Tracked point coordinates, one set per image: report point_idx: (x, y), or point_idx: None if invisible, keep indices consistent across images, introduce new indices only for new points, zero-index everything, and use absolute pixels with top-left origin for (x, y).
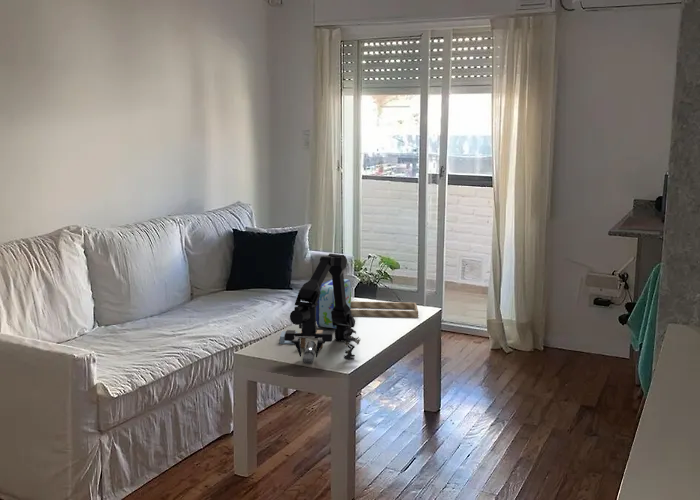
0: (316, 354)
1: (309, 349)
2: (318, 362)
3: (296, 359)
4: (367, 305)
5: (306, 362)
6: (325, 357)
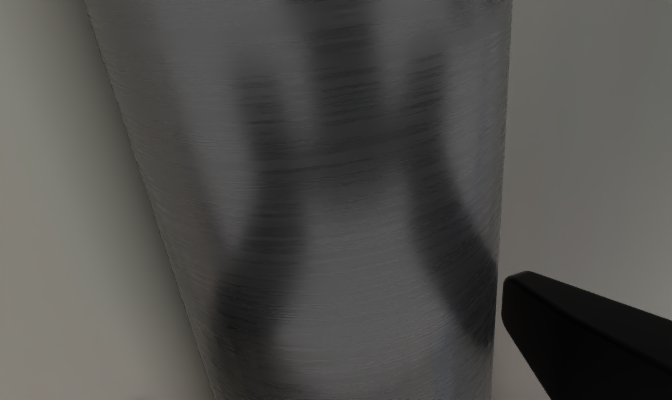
0: (566, 395)
1: (414, 352)
2: (504, 327)
3: (3, 360)
4: None
5: None
6: (646, 4)
